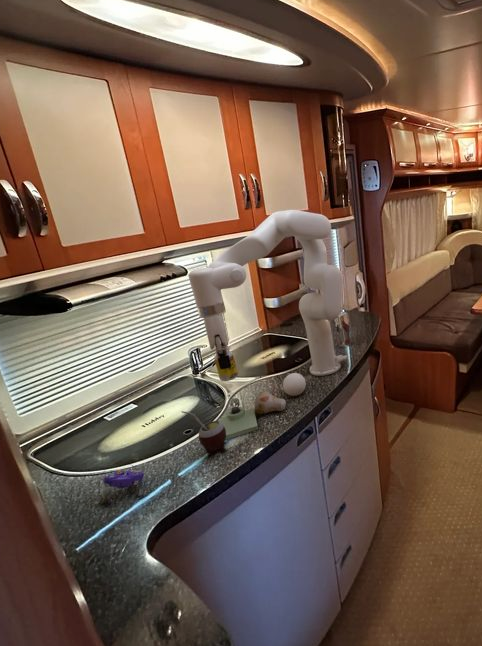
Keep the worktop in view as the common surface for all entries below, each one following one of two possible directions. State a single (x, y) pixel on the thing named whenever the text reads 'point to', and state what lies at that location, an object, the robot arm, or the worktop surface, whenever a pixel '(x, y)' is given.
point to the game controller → (122, 479)
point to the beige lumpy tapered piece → (268, 403)
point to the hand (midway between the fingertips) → (225, 363)
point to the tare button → (235, 410)
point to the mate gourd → (211, 435)
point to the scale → (239, 422)
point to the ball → (294, 384)
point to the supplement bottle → (228, 372)
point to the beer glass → (342, 329)
